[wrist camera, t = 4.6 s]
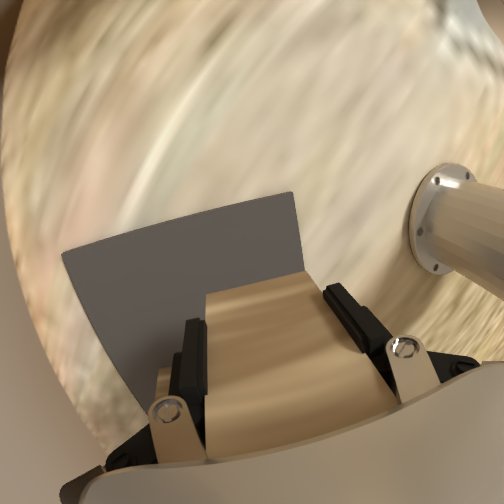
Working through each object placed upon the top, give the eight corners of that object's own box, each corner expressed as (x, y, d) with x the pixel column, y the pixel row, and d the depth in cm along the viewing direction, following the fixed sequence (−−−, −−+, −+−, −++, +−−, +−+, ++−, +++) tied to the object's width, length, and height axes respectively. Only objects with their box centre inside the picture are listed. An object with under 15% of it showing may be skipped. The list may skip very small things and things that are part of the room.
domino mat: (290, 191, 22) (292, 192, 22) (319, 438, 35) (320, 441, 35) (63, 252, 21) (60, 254, 20) (192, 466, 34) (192, 469, 33)
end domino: (205, 294, 14) (215, 570, 3) (305, 270, 14) (457, 494, 3) (216, 327, 14) (239, 573, 3) (309, 304, 15) (429, 515, 3)
